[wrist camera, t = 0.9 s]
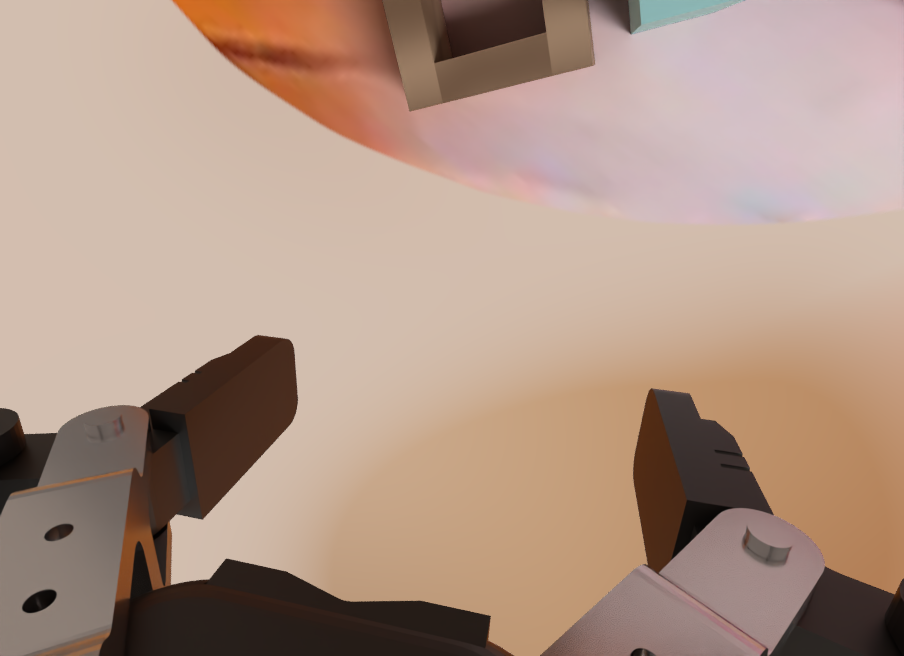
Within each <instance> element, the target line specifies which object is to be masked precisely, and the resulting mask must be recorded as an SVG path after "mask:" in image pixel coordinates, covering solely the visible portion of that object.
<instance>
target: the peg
mask: <svg viewBox="0 0 904 656" xmlns="http://www.w3.org/2000/svg"><path fill="white" fill-rule="evenodd" d="M742 1H745V0H628V6H629V18H630V30H631V34H634V33H638V32H642V31H646V30H650V29H653V28H657V27H661V26H665V25H669V24H672V23H676V22H680V21H684V20H688V19H691V18H695V17H699V16H703V15H707V14H710V13H714V12H716V11H719V10H721V9H724V8H727V7H729V6H732V5H734V4H737V3H740V2H742Z"/></svg>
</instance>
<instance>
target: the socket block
mask: <svg viewBox="0 0 904 656" xmlns="http://www.w3.org/2000/svg"><path fill="white" fill-rule="evenodd" d="M382 1H383V5H384V10H385V14H386V18H387V22H388V26H389V30H390V34H391V38H392V42H393V46H394V50H395V54H396V58H397V62H398V66H399V70H400V74H401V78H402V83H403V87H404V91H405V95H406V99H407V103H408V107H409V111H414V110H418V109H422V108H426V107H430V106H434V105H438V104H442V103H446V102H450V101H454V100H458V99H462V98H466V97H470V96H474V95H478V94H482V93H486V92H490V91H494V90H498V89H502V88H506V87H510V86H514V85H518V84H522V83H526V82H530V81H534V80H538V79H542V78H546V77H550V76H554V75H558V74H562V73H566V72H570V71H574V70H578V69H582V68H586V67H590V66H593V65H594V64H595V58H594V49H593V40H592V31H591V22H590V13H589V4H588V0H542V4H543V11H544V18H545V26H546V32H545V33H542V34H538V35H534V36H531V37H527V38H524V39H520V40H516V41H513V42H509V43H506V44H502V45H499V46H495V47H491V48H488V49H484V50H481V51H477V52H473V53H470V54H466V55H463V56H459V57H456V58H453V57H452V53H451V48H450V43H449V38H448V33H447V28H446V24H445V19H444V14H443V9H442V4H441V0H382Z"/></svg>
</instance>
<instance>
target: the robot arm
mask: <svg viewBox="0 0 904 656" xmlns="http://www.w3.org/2000/svg"><path fill="white" fill-rule="evenodd" d="M297 404H298V395H297V383H296V370H295V354H294V347H293V344H292V342H291V341H290V340H289V339H283V338H276V337H268V336H261V335H257V336H254V337H253V338H251V339H250V340H248V341H247V342H246V343H244V344H243V345H241V346H240V347H238V348H237V349H235V350H234V351H232V352H231V353H229V354H226V355H224V356H221V357H218V358H215V359H213V360H211V361H209V362H208V363H206V364H205V365H203V366H202V367H200V368H199V369H197V370H196V371H195V373H191V374H190V375H188V376H187V377H185V378H184V379H182V382H178V383H176V384H174V385H173V386H171V387H170V388H168V389H167V390H165V391H164V392H163V393H161V394H160V395H158V396H156V397H155V398H154V399H152V400H150V401H149V402H147V403H146V404H144V405H143V406H141V407H136V406H129V405H118V406H109V407H104V408H99V409H95V410H92V411H89V412H86V413H84V414H81V415H79V416H77V417H75V418H73V419H71V420H70V421H68V422H67V423H65V424H64V425H63V426H62V427H61V428H60V430H59V431H58V433H49V434H48V433H47V434H24V432H23V429H22V426H21V422H20V419H19V416H18V414H17V413H16V412H15V411H12V410H10V409H4V408H3V409H2V408H0V656H514V655H512V654H511V653H509V652H507V651H506V650H504V649H503V648H501V647H500V646H498V645H495V644H494V643H492V642H490V641H488V637H489V627H490V617H491V616H488V615H483V614H479V613H474V612H470V611H465V610H461V609H456V608H451V607H447V606H442V605H438V604H433V603H428V602H424V601H376V602H375V601H373V602H371V601H370V602H349V601H343V600H341V599H338V598H336V597H334V596H332V595H331V594H329V593H327V592H325V591H323V590H321V589H319V588H317V587H315V586H313V585H311V584H309V583H307V582H306V581H304V580H302V579H300V578H298V577H296V576H294V575H292V574H290V573H288V572H286V571H281V570H277V569H271V568H267V567H263V566H258V565H254V564H249V563H244V562H240V561H235V560H230V559H225V561H224V562H223V563H222V564H221V566H220V567H219V568H218V569H217V571H216V572H215V573H214V574H213V576H212V577H211V578H210V580H197V581H189V582H184V583H178V584H174V585H171V556H172V553H171V552H172V532H171V526H170V520H171V519H172V518H173V517H174V516H175V515H176V514H178V515H183V516H188V517H193V518H198V519H203V518H204V517H205V516H206V515H207V514H208V513H209V512H210V511H211V510H212V509H213V508H214V506H215V505H216V504H217V503H218V502H219V501H220V500H221V499H222V498H223V497H224V496H225V495H226V494H227V492H228V491H229V490H230V489H231V488H232V487H233V486H234V485H235V484H236V483H237V482H238V480H240V478H241V477H242V476H243V475H244V474H245V473H246V472H247V471H248V470H249V469H250V468H251V467H252V465H253V464H254V463H255V462H256V461H257V460H258V459H259V458H260V457H261V455H263V454H264V452H265V451H266V450H267V449H268V448H269V447H270V446H271V445H272V444H273V443H274V442H275V441H276V439H277V438H278V437H279V436H280V435H281V434H282V433H283V432H284V431H285V430H286V429H287V427H288V426H289V425H290V424H291V423H292V421H293V419H294V416H295V414H296V410H297ZM633 479H634V487H635V492H636V498H637V504H638V510H639V516H640V521H641V527H642V533H643V539H644V545H645V551H646V556H647V562H648V565H646V564H643V565H640V566H638V567H637V568H635V569H634V570H633V571H632V572H631V573H630V574H629V575H627V576H626V577H625V578H624V579H623V580H622V581H621V582H620V583H619V584H618V585H616V586H615V587H614V588H613V589H612V590H611V591H610V592H609V593H608V594H607V595H606V596H605V597H603V598H602V599H601V600H600V601H599V602H598V603H597V604H596V605H595V606H594V607H593V608H592V609H591V610H589V611H588V612H587V613H586V614H585V615H584V616H583V617H582V618H581V619H580V620H578V621H577V622H576V623H575V624H574V625H573V626H572V627H571V628H570V629H569V630H568V631H566V632H565V633H564V634H563V635H562V636H561V637H560V638H559V639H558V640H557V641H556V642H555V643H553V644H552V645H551V646H550V647H549V648H548V649H547V650H546V651H545V652H544V653H542V654H541V655H540V656H904V579H903V580H902V581H901V583H900V585H899V587H898V589H897V591H896V594H895V595H894V594H892V593H889V592H887V591H884V590H881V589H879V588H876V587H873V586H871V585H868V584H866V583H863V582H860V581H858V580H855V579H852V578H850V577H847V576H845V575H842V574H840V573H837V572H835V571H833V570H831V569H829V568H827V567H825V565H824V564H825V562H824V558H823V555H822V553H821V551H820V549H819V548H818V547H817V545H816V544H815V543H814V542H813V541H812V540H811V539H810V538H809V537H808V536H807V535H806V534H805V533H803V532H802V531H801V530H799V529H798V528H796V527H795V526H794V525H792V524H790V523H788V522H787V521H785V520H783V519H781V518H779V517H776V516H774V514H773V512H772V510H771V508H770V506H769V505H768V503H767V501H766V499H765V497H764V495H763V493H762V491H761V489H760V487H759V485H758V483H757V481H756V479H755V477H754V475H753V473H752V472H750V468H749V466H748V464H747V462H746V460H745V458H744V457H742V452H741V450H740V448H739V446H738V444H737V442H736V440H735V438H734V437H733V436H732V435H731V434H730V433H729V432H728V431H726V430H725V429H724V428H723V427H722V426H720V425H719V424H718V423H717V422H716V421H712V420H705V419H701V418H700V416H699V414H698V411H697V409H696V407H695V404H694V402H693V400H692V397H691V395H690V394H688V393H681V392H674V391H667V390H659V389H650V390H649V393H648V395H647V399H646V403H645V408H644V413H643V417H642V422H641V427H640V432H639V436H638V442H637V446H636V451H635V457H634V467H633Z"/></svg>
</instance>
